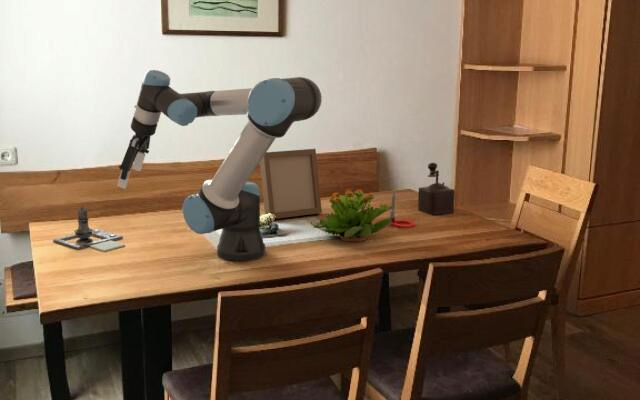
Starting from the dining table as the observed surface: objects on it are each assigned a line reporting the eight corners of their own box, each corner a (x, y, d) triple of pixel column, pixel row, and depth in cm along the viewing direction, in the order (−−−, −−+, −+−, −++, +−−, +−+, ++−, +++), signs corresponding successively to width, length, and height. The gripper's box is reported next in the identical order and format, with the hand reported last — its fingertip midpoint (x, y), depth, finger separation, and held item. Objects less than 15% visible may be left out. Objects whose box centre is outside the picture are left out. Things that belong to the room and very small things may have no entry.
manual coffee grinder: (455, 212, 274) (458, 167, 270) (433, 216, 269) (435, 169, 265) (431, 204, 288) (433, 161, 284) (409, 207, 283) (411, 163, 279)
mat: (125, 246, 226) (125, 244, 226) (104, 251, 220) (104, 250, 220) (110, 241, 230) (110, 240, 230) (89, 247, 224) (89, 245, 224)
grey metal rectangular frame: (122, 238, 235) (122, 235, 234) (78, 249, 221) (77, 246, 221) (97, 231, 243) (97, 228, 243) (53, 241, 230) (53, 238, 230)
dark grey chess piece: (87, 244, 228) (85, 208, 225) (71, 242, 229) (68, 207, 226) (97, 239, 233) (94, 204, 231) (80, 238, 234) (78, 203, 232)
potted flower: (346, 224, 255) (347, 177, 251) (404, 235, 242) (406, 186, 238) (306, 240, 235) (306, 189, 231) (366, 253, 222) (367, 199, 218)
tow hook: (416, 224, 258) (392, 221, 261) (419, 190, 255) (395, 187, 258) (411, 230, 250) (386, 226, 253) (415, 195, 247) (389, 192, 250)
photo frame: (321, 215, 268) (322, 150, 262) (270, 221, 258) (270, 154, 252) (303, 207, 281) (304, 145, 275) (253, 213, 270) (253, 149, 265)
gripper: (147, 102, 224) (131, 158, 234) (119, 128, 202) (102, 190, 211) (169, 111, 225) (152, 167, 234) (143, 138, 202) (126, 199, 212)
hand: (129, 178), depth 223 cm, fingers open, 13 cm apart
